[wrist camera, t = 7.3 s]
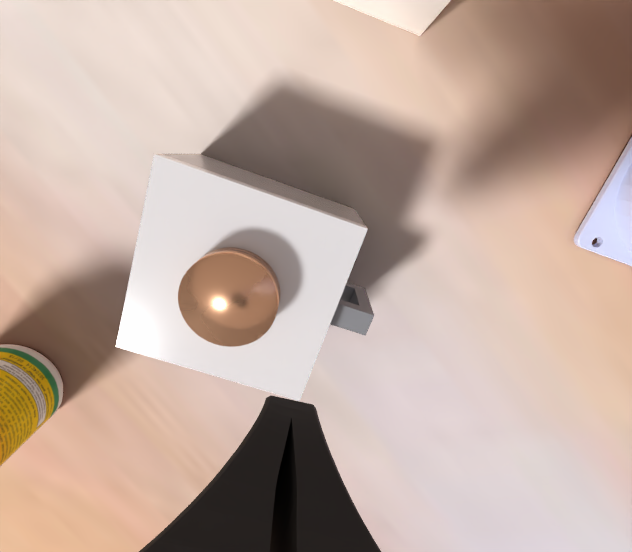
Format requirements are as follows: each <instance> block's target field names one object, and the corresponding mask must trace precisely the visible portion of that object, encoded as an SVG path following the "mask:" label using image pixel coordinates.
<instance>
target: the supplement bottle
mask: <svg viewBox="0 0 632 552" xmlns="http://www.w3.org/2000/svg"><path fill="white" fill-rule="evenodd" d="M62 398H63V382H62V378H61V376H60V374H59V372H58V370H57V368H56V367H55V366H54V365H53V364H52V362H51V361H50V360H48V359H47V358H46V357H45V356H43V355H42V354H40V353H38V352H37V351H35V350H33V349H30V348H28V347H24V346H20V345H14V344H1V345H0V466H1V465H2V464H3V463H4V462H5V461H6V460H7V459H8V458H9V457H10V456H11V455H12V454H13V453H14V452H16V451H17V450H18V449H19V448H20V447H21V446H22V445H23V444H24V443H25V442H26V441H27V440H28V439H29V438H30V437H31V436H32V435H33V434H34V433H35V432H36V431H37V430H38V429H39V428H40V427H41V426H42V425H43V424H44V423H45V422H46V421H47V420H48V419H49V418H50V417H51V416H52V415H53V414H54V413H55V412H56V411H57V409H58V408H59V406H60V405H61V403H62Z"/></svg>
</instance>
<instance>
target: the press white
mask: <svg viewBox="0 0 632 552" xmlns="http://www.w3.org/2000/svg"><path fill="white" fill-rule="evenodd" d="M333 1H335V2H338V3H340V4H343V5H345V6H348V7H350V8H352V9H355V10H357V11H360V12H362V13H365V14H367V15H370V16H372V17H374V18H377V19H379V20H382V21H384V22H387V23H389V24H391V25H394V26H396V27H399V28H401V29H404V30H406V31H408V32H411V33H413V34H416V35H418V36H420V35H421V34H422V33H423V32H424V31H425V30H426V29H427V27H428V26H429V25H430V24H431V23H432V22H433V20H434V19H435V18H436V17H437V16H438V15H439V13H440V12H441V11H442V10H443V9H444V8H445V7H446V5H447V4H448V3H449V2H450V1H451V0H333Z"/></svg>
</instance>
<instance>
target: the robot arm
mask: <svg viewBox="0 0 632 552" xmlns="http://www.w3.org/2000/svg"><path fill="white" fill-rule="evenodd" d="M595 238H597V242H596V243H595V244H594V245H592V241H593V240H594V239H595ZM574 243H575V244H576V245H577V246H578V247H581V248H584V249H586V250H589V251H592V252H594V253H597V254H600V255H603V256H605V257H608V258H611V259H614V260H616V261H619V262H622V263H624V264H627V265H630V266H632V137H631V139H630V141H629V142H628V144H627V146H626V148H625V149H624V151H623V153H622V154H621V156H620V158H619V160H618V161H617V163H616V165H615V167H614V168H613V170H612V172H611V173H610V175H609V177H608V179H607V180H606V182H605V184H604V186H603V187H602V189H601V191H600V193H599V194H598V196H597V198H596V199H595V201H594V203H593V205H592V206H591V208H590V210H589V212H588V213H587V215H586V217H585V218H584V220H583V222H582V224H581V225H580V227H579V229H578V231H577V232H576V234H575V237H574ZM139 552H381V551H380V549H379V547H378V546H377V544H376V543H375V541H374V539H373V538H372V536H371V534H370V533H369V531H368V529H367V527H366V526H365V524H364V522H363V520H362V519H361V517H360V515H359V513H358V511H357V509H356V507H355V505H354V503H353V502H352V500H351V497H350V495H349V493H348V491H347V489H346V487H345V485H344V483H343V481H342V479H341V476H340V474H339V472H338V470H337V467H336V465H335V462H334V460H333V458H332V455H331V453H330V450H329V448H328V445H327V442H326V439H325V437H324V434H323V431H322V428H321V425H320V422H319V418H318V415H317V411H316V408H315V407H314V405H312V404H307V403H303V402H298V401H294V400H289V399H284V398H280V397H275V396H269V397H267V398H266V400H265V404H264V406H263V408H262V411H261V413H260V414H259V416H258V418H257V420H256V422H255V423H254V425H253V427H252V428H251V430H250V431H249V433H248V434H247V436H246V437H245V439H244V440H243V442H242V443H241V445H240V446H239V447H238V449H237V450H236V451H235V453H234V454H233V455H232V456H231V458H230V459H229V460H228V462H227V463H226V464H225V465H224V467H223V468H222V469H221V470H220V472H219V473H218V474H217V475H216V476H215V477H214V479H213V480H212V481H211V482H210V483H209V484H208V486H207V487H206V488H205V489H204V490H203V491H202V492H201V493H200V494H199V495H198V496H197V497H196V499H195V500H194V501H193V502H192V503H191V504H190V505H189V506H188V507H187V508H186V509H185V510H184V511H183V512H182V513H181V514H180V515H179V516H178V517H177V518H176V519H175V520H174V521H173V522H172V523H171V524H169V525H168V526H167V527H166V528H165V529H164V530H163V531H162V532H161V533H160V534H159V535H158V536H157V537H155V538H154V539H153V540H152V541H151V542H150V543H149V544H147V545H146V546H145V547H144V548H143V549H141V550H140V551H139Z"/></svg>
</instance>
